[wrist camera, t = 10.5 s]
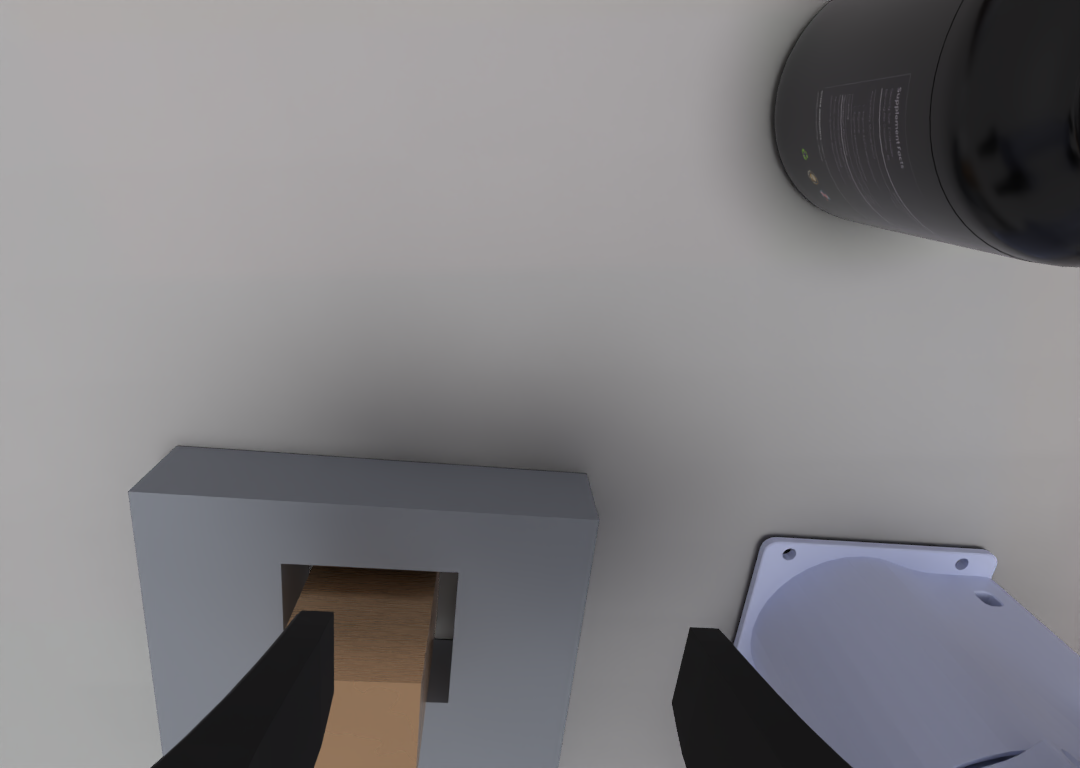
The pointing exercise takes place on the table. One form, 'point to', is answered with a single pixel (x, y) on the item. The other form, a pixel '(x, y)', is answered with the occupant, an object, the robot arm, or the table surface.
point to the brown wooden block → (375, 662)
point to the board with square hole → (370, 542)
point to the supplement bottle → (941, 121)
